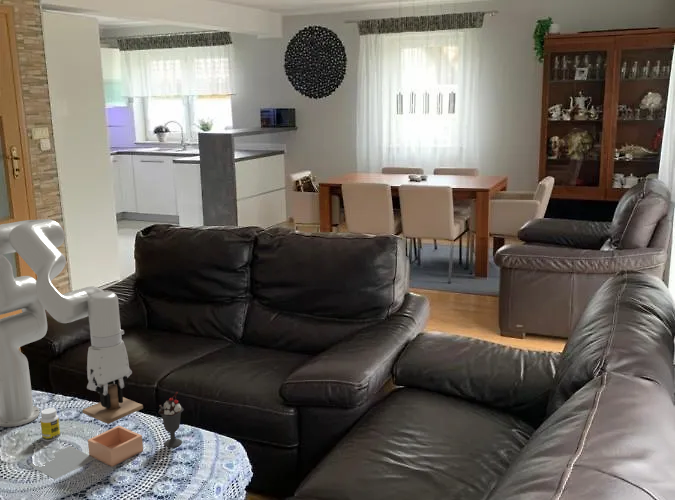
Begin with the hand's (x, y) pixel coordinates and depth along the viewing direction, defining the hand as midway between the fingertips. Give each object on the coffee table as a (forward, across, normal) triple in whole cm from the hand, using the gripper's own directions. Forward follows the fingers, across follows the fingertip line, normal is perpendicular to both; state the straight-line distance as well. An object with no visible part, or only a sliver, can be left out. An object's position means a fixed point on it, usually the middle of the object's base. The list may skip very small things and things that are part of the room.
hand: (112, 403), depth 180 cm
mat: (+15, +11, -8) cm, 20 cm away
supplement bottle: (+15, +5, -23) cm, 28 cm away
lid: (+2, 0, 0) cm, 2 cm away
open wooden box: (+15, 0, 0) cm, 15 cm away
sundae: (+15, -13, +8) cm, 21 cm away
